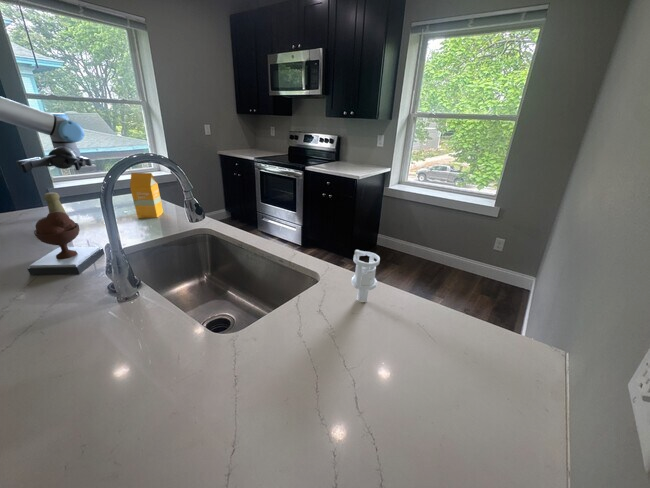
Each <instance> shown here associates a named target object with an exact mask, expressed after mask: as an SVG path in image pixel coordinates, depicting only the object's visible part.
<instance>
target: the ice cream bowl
mask: <svg viewBox="0 0 650 488" xmlns="http://www.w3.org/2000/svg"><path fill="white" fill-rule="evenodd" d="M34 226H35V230H33V233H34V236H35V237H36V239H37V240H39V241H40V242H42V243H44V244H46V245H51V246H58V247H61V250H62V251H61V252H60V253H59V254H57V255H56V258H57V259H67V258H71V257H74V256H75V255H77V252H76V251H74V250H68V247H69V246H68V244H70V243H71V242H73V241H74V240H75V239H76V238H77V237H78V235H79V234H80V230H81V229H80V225H79V223H78V222H75V221H74V220H73V219H71V218H70V216H69V215H68V214H67V212H66V213H64V212H61V211H54V212H50V213H49V212H48V213H47V215H46V216H45V217H42V218H40V219H38V220H37V222H36V223H35V225H34Z"/></svg>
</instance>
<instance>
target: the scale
mask: <svg viewBox="0 0 650 488" xmlns="http://www.w3.org/2000/svg"><path fill="white" fill-rule="evenodd" d="M67 247H68V250H74V251H76V252H77V255H75V256H74V257H71V258H67V259H57V258H56V255H57V254H59V253H60V252H61V251H62V250H61V247H60V246H58V247H57V248H55V249H54V250H51V251H50V252H48V253H47V254H45V255H44V256H42V257H41V258H39V259H37V260H36V261H34V262H32V263H31V264H30V265H29V267H27V272H28V273H29V276H60V275H62V276H63V275H64V276H65V275H81V274H82V273H83V272H84V271H86V270H87V269H88V268H90V266H92V265H93V264H94V263H96V262H97V261H98V260H99V259H100V258H102V257H103V256H105V254H106V253H105V250H104V247H101V246H67Z"/></svg>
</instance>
